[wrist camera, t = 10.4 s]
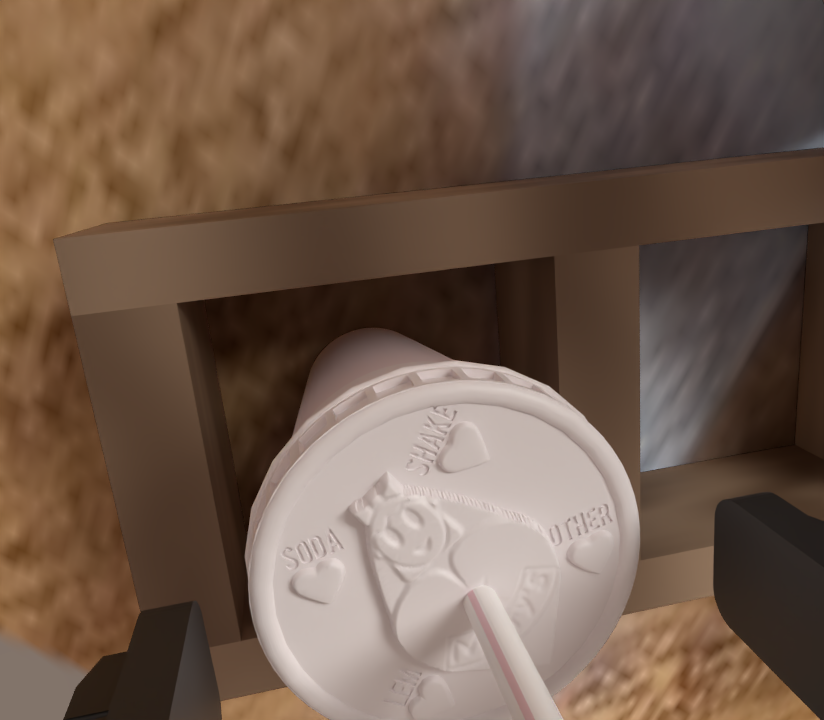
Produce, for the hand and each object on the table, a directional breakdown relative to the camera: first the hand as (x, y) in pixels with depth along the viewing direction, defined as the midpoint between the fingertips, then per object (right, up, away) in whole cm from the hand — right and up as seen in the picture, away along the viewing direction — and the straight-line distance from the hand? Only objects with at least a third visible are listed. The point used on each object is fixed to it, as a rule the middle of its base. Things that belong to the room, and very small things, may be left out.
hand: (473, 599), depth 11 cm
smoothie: (-2, +3, +10) cm, 10 cm away
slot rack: (+3, +3, +10) cm, 11 cm away
